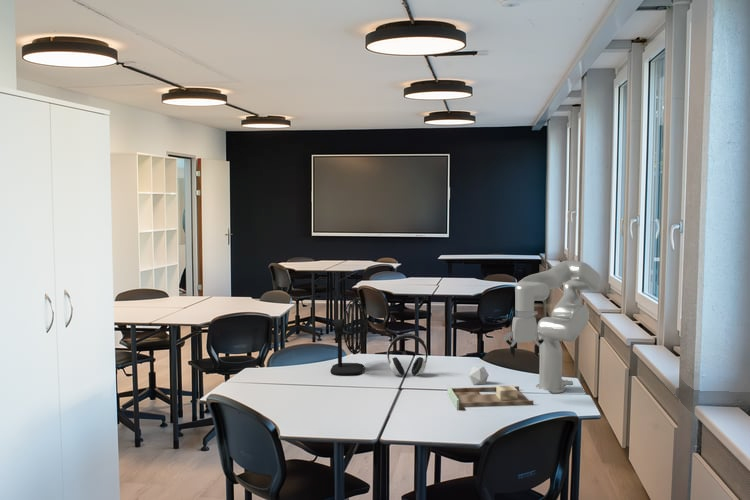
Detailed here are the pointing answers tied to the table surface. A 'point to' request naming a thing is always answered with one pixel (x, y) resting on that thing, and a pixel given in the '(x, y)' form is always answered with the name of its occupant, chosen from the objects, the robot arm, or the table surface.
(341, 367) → the desk fan
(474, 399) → the box
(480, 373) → the die
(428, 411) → the table surface
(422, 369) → the headphones
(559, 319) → the robot arm
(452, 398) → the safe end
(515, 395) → the block
